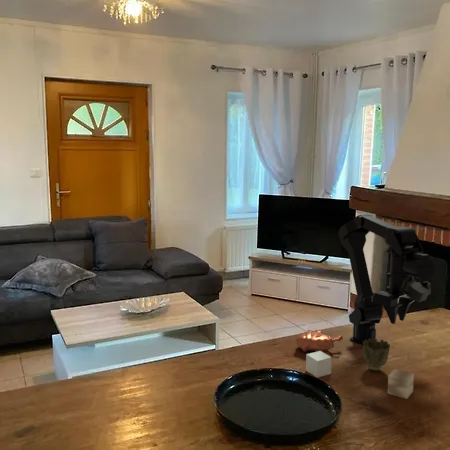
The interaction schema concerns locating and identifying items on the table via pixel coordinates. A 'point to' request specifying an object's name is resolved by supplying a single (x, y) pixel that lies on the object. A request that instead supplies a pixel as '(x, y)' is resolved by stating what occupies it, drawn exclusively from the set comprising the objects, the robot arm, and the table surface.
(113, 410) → the table surface
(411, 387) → the birch block
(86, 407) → the table surface
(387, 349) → the cup
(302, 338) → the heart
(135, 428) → the table surface
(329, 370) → the grey block
